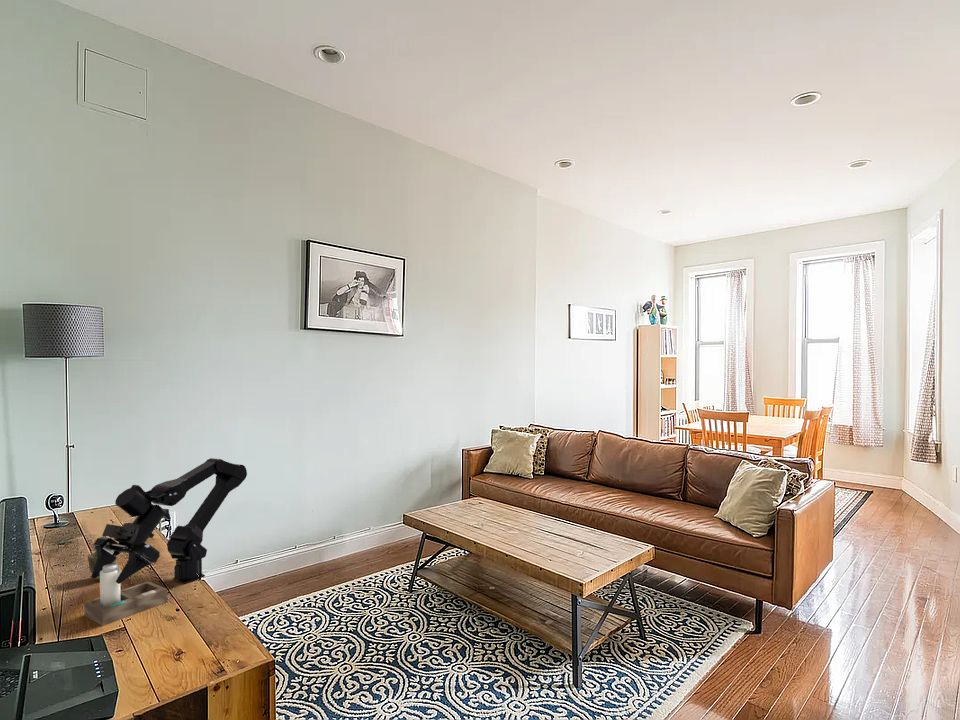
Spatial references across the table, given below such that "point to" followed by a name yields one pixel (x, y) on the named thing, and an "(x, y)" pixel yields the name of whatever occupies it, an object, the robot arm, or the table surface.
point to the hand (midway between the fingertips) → (104, 580)
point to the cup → (92, 561)
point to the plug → (109, 585)
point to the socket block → (126, 603)
